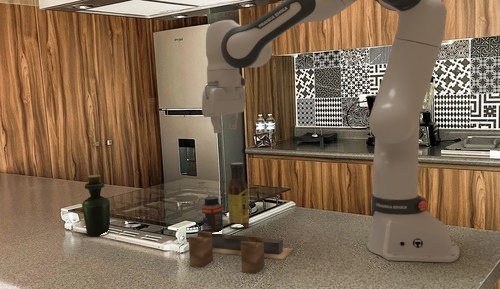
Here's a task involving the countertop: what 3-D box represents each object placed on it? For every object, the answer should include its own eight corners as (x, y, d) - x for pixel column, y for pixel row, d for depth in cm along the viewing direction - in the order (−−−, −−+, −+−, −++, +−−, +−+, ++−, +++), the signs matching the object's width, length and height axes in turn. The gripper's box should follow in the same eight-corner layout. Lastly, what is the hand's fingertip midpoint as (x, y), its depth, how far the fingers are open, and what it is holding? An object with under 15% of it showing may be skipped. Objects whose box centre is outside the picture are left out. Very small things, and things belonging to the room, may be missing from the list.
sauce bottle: (247, 229, 154) (244, 165, 152) (227, 229, 155) (224, 165, 153) (251, 223, 160) (249, 161, 158) (232, 223, 162) (229, 161, 159)
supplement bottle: (226, 232, 152) (224, 195, 151) (218, 238, 146) (217, 199, 145) (208, 231, 154) (206, 194, 153) (199, 237, 148) (198, 199, 147)
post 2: (264, 265, 123) (263, 236, 122) (255, 273, 118) (254, 243, 118) (250, 264, 125) (249, 235, 124) (241, 271, 120) (240, 242, 119)
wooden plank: (293, 250, 134) (293, 248, 134) (283, 260, 126) (283, 258, 126) (212, 242, 143) (212, 240, 143) (198, 251, 136) (198, 249, 136)
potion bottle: (84, 239, 151) (79, 179, 148) (84, 231, 158) (79, 175, 156) (112, 235, 153) (108, 176, 151) (111, 228, 161) (107, 172, 159)
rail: (283, 250, 132) (282, 239, 132) (279, 254, 129) (278, 243, 129) (214, 244, 140) (214, 233, 140) (209, 247, 137) (208, 236, 137)
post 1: (213, 259, 129) (211, 232, 128) (202, 267, 124) (201, 238, 123) (200, 258, 130) (199, 231, 129) (190, 265, 125) (188, 237, 124)
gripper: (216, 80, 129) (218, 135, 130) (248, 80, 147) (250, 127, 149) (194, 81, 131) (197, 135, 133) (228, 80, 150) (230, 127, 151)
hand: (225, 131), depth 141 cm, fingers open, 8 cm apart
